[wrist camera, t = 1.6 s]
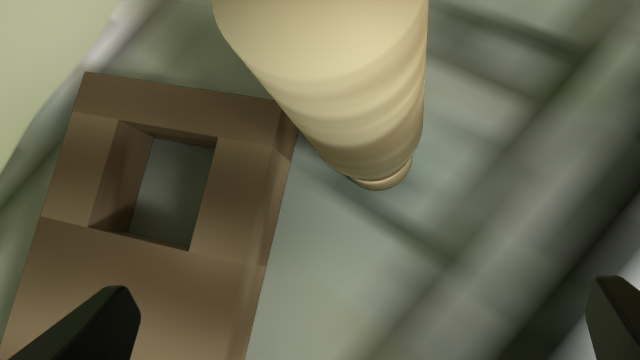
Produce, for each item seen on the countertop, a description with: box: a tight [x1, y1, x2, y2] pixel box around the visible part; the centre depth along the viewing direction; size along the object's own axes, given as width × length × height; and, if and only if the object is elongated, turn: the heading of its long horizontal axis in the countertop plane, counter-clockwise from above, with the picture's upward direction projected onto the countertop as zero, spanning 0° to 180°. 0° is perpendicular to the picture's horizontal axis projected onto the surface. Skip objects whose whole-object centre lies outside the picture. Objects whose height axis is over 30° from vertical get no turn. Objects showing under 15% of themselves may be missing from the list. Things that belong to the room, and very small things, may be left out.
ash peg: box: [211, 0, 428, 191], centre depth 15 cm, size 4×4×14 cm
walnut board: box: [0, 72, 299, 360], centre depth 21 cm, size 24×10×3 cm, turn 167°
